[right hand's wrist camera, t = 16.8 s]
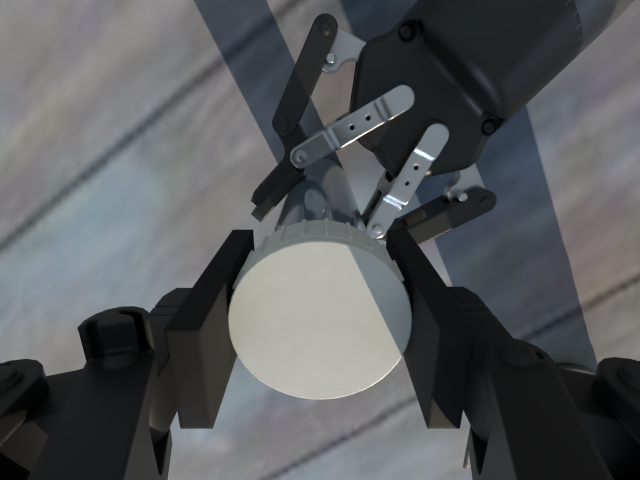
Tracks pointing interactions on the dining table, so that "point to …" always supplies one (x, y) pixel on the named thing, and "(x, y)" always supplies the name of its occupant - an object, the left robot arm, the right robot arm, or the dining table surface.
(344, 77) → the dining table surface
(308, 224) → the lid
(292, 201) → the bottle
